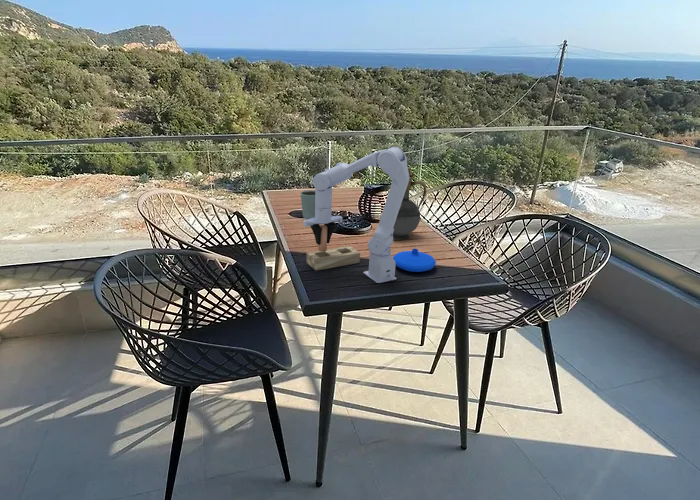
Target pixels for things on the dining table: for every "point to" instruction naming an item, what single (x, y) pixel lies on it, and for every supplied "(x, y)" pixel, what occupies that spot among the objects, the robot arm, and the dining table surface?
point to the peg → (323, 239)
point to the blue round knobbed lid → (414, 261)
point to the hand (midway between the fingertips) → (322, 243)
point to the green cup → (308, 204)
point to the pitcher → (408, 212)
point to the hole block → (333, 257)
